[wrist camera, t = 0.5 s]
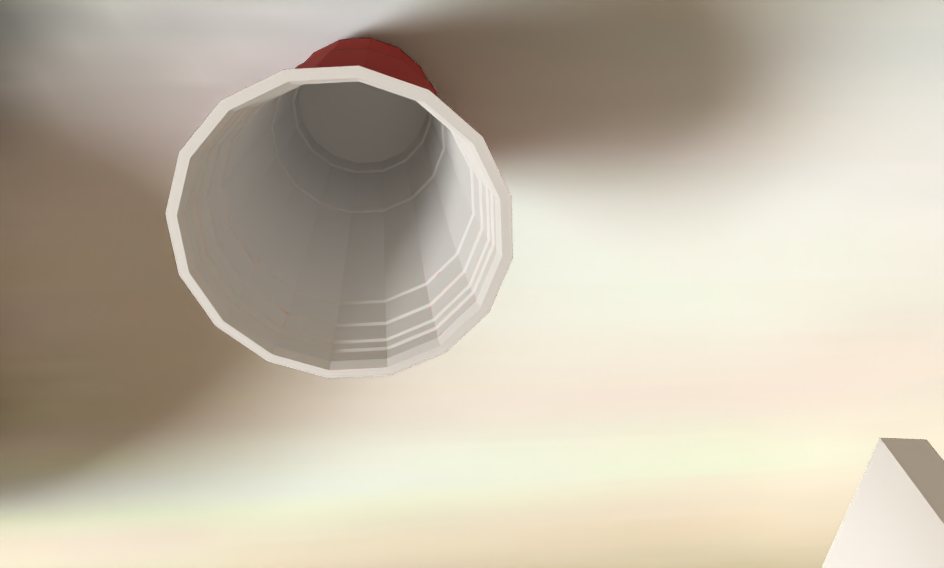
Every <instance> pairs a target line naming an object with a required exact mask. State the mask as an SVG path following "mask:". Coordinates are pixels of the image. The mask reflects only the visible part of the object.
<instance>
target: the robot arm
mask: <svg viewBox="0 0 944 568" xmlns="http://www.w3.org/2000/svg"><path fill="white" fill-rule="evenodd" d="M822 568H944V461H943V459H942V458H941V457H940V456H939V454H938V453H937V452H936V451H935V449H934V448H933V447H932V446H931V445H930V443H929V442H928V441H927V440H924V439H898V438H880V439H879V441H878V443H877V445H876V448H875V450H874V452H873V454H872V457H871V459H870V461H869V463H868V465H867V468H866V470H865V472H864V474H863V477H862V479H861V481H860V483H859V486H858V488H857V490H856V492H855V494H854V497H853V499H852V501H851V503H850V506H849V508H848V510H847V512H846V514H845V517H844V519H843V521H842V523H841V526H840V528H839V530H838V532H837V535H836V537H835V539H834V541H833V543H832V546H831V548H830V550H829V552H828V555H827V557H826V559H825V561H824V564H823V566H822Z"/></svg>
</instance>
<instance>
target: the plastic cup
mask: <svg viewBox="0 0 944 568" xmlns="http://www.w3.org/2000/svg"><path fill="white" fill-rule="evenodd" d="M165 215H166V220H167V224H168V229H169V233H170V238H171V242H172V247H173V251H174V256H175V260H176V264H177V269H178V273H179V276H180V277H181V278H182V280H183V281H184V283H185V284H186V285H187V287H188V288H189V290H190V291H191V293H192V294H193V295H194V297H195V298H196V300H197V301H198V302H199V304H200V305H201V307H202V308H203V309H204V311H205V312H206V314H207V315H208V316H209V318H210V319H211V321H212V322H213V323H214V325H215V326H216V327H218V328H219V329H221V330H222V331H224V332H225V333H226V334H228V335H229V336H231V337H232V338H234V339H235V340H237V341H238V342H240V343H241V344H243V345H244V346H246V347H247V348H248V349H250V350H251V351H253V352H254V353H256V354H257V355H259V356H260V357H262V358H263V359H265V360H266V361H268V362H271V363H275V364H278V365H282V366H285V367H289V368H293V369H296V370H300V371H304V372H307V373H311V374H314V375H318V376H322V377H325V378H347V377H366V376H386V375H392V374H395V373H397V372H400V371H402V370H405V369H407V368H410V367H412V366H414V365H417V364H419V363H422V362H424V361H427V360H429V359H432V358H434V357H436V356H439V355H441V354H444V353H446V352H447V351H449V350H450V349H451V348H452V347H453V346H454V345H455V344H456V343H457V342H458V341H459V340H460V339H461V338H462V337H463V336H464V335H465V334H467V333H468V332H469V331H470V330H471V329H472V328H473V327H474V326H475V325H476V324H477V323H478V322H479V321H480V320H481V319H482V318H483V317H485V316H486V315H487V314H488V313H489V312H490V309H491V307H492V305H493V303H494V300H495V298H496V296H497V293H498V291H499V289H500V286H501V284H502V282H503V279H504V277H505V275H506V272H507V270H508V268H509V265H510V263H511V261H512V259H513V241H512V197H511V194H510V192H509V190H508V188H507V186H506V184H505V182H504V180H503V178H502V176H501V174H500V171H499V169H498V167H497V165H496V163H495V161H494V159H493V157H492V155H491V153H490V151H489V149H488V147H487V144H486V142H485V140H484V138H483V137H482V136H481V135H480V134H479V133H478V132H477V131H475V130H474V129H473V128H472V127H471V126H470V125H469V124H467V123H466V122H465V121H464V120H463V119H462V118H461V117H459V116H458V115H457V114H456V113H455V112H454V111H453V110H451V109H450V108H449V107H448V106H447V105H446V104H445V103H443V102H442V101H441V100H440V99H439V97H438V95H437V93H436V91H435V89H434V88H433V86H432V84H431V83H430V82H429V81H428V80H427V78H426V76H425V74H424V72H423V70H422V68H421V67H420V66H419V65H418V64H417V63H415V62H414V61H413V60H412V59H411V58H410V57H408V56H407V55H406V54H405V53H404V52H403V51H401V50H400V49H399V48H397V47H395V46H392V45H389V44H386V43H383V42H380V41H377V40H374V39H371V38H362V39H344V40H339V41H337V42H335V43H333V44H330V45H328V46H326V47H324V48H322V49H320V50H318V51H316V52H314V53H313V54H312V55H311V56H310V57H309V58H308V59H307V60H306V62H304V63H302V64H300V65H298V66H297V67H296V68H295V69H284V70H282V71H280V72H278V73H276V74H274V75H272V76H270V77H268V78H266V79H264V80H262V81H260V82H257V83H255V84H253V85H251V86H249V87H247V88H245V89H243V90H241V91H239V92H237V93H235V94H233V95H231V96H229V97H227V98H225V99H223V100H221V101H220V102H219V103H218V104H217V106H216V107H215V108H214V109H213V111H212V112H211V113H210V114H209V116H208V117H207V118H206V119H205V121H204V122H203V123H202V124H201V125H200V127H199V128H198V129H197V130H196V132H195V133H194V134H193V135H192V137H191V138H190V139H189V140H188V142H187V143H186V144H185V145H184V147H183V148H182V149H181V150H180V152H179V154H178V159H177V163H176V168H175V172H174V177H173V181H172V186H171V190H170V194H169V199H168V203H167V208H166V212H165Z"/></svg>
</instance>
